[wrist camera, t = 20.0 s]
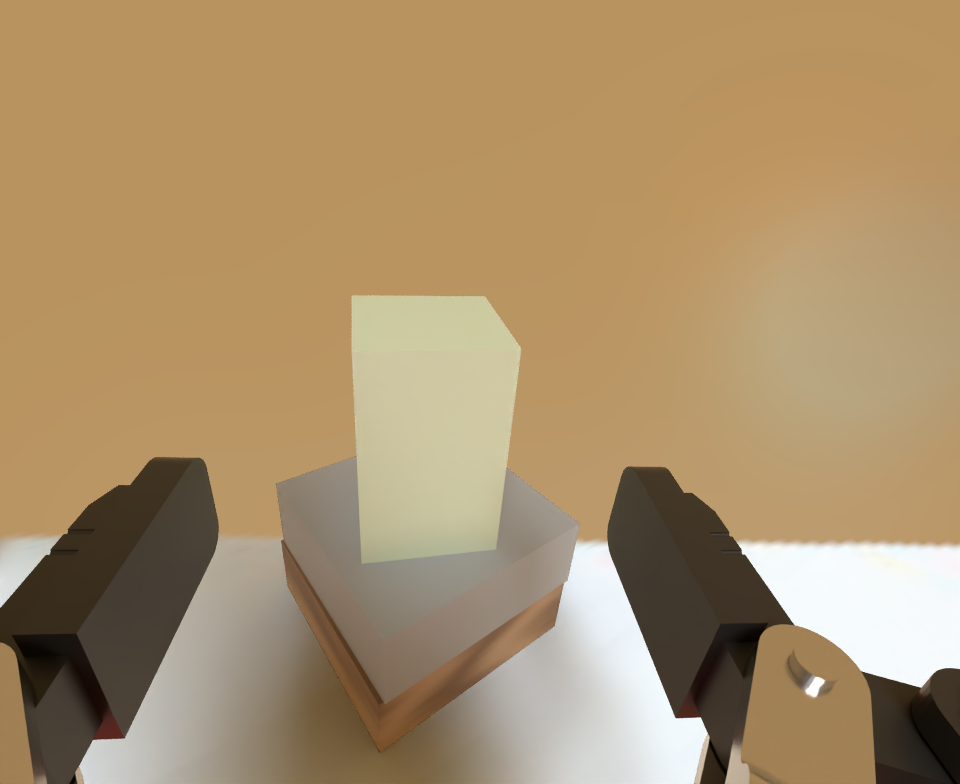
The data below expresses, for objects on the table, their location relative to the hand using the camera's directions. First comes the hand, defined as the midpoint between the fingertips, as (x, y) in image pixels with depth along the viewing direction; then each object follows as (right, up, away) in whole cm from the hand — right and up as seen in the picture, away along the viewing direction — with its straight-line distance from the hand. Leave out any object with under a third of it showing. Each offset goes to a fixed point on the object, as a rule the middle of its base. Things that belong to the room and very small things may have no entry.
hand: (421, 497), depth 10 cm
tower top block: (-2, -7, +18) cm, 19 cm away
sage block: (-2, -4, +15) cm, 16 cm away
